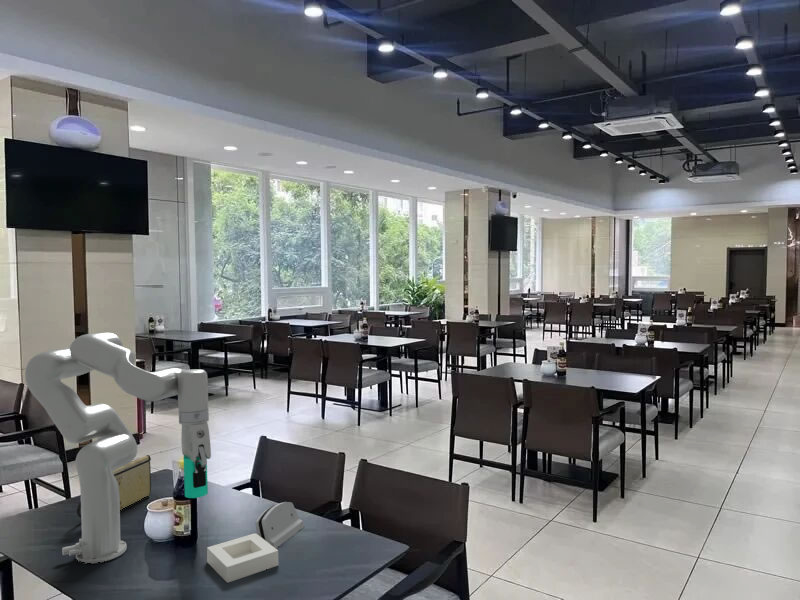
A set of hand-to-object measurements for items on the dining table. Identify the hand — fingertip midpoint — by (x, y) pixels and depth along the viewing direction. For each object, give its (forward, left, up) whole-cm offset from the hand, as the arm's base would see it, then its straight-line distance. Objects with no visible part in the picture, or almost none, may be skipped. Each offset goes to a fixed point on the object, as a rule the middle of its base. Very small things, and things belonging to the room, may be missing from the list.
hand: (196, 483), depth 153 cm
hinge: (+25, +1, -22) cm, 33 cm away
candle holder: (+9, -8, -22) cm, 25 cm away
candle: (0, 0, -3) cm, 3 cm away
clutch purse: (-9, +54, -22) cm, 59 cm away
